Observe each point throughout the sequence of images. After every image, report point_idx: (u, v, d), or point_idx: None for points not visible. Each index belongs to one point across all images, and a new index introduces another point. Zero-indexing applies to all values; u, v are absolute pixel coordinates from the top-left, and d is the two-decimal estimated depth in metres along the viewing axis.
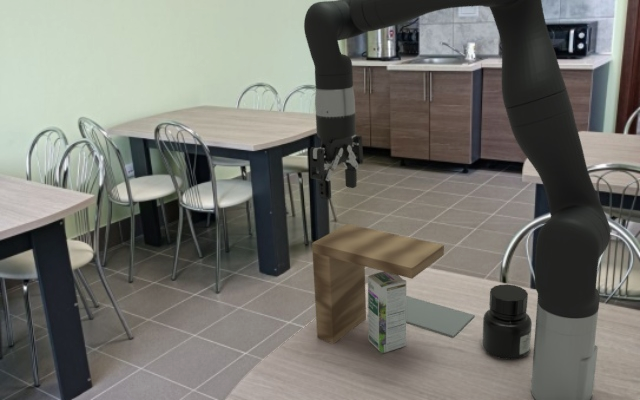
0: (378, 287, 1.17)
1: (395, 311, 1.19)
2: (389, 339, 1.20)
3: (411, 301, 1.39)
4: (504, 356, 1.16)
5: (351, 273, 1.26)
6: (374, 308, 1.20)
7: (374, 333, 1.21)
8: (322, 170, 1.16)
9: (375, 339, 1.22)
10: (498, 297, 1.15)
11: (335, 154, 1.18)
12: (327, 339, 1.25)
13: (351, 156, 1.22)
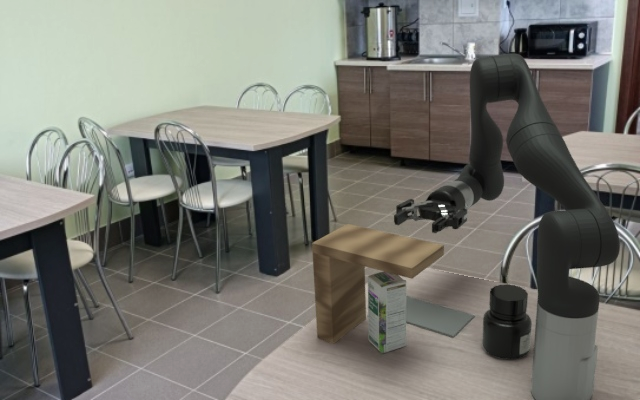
0: (378, 287, 1.17)
1: (395, 311, 1.19)
2: (389, 339, 1.20)
3: (411, 301, 1.39)
4: (504, 356, 1.16)
5: (351, 273, 1.26)
6: (374, 308, 1.20)
7: (374, 333, 1.21)
8: (402, 204, 1.33)
9: (375, 339, 1.22)
10: (498, 297, 1.15)
11: None
12: (327, 339, 1.25)
13: (441, 208, 1.28)
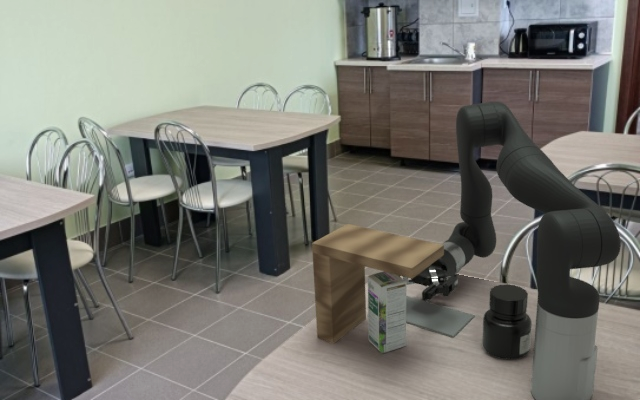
0: (378, 287, 1.17)
1: (395, 311, 1.19)
2: (389, 339, 1.20)
3: (411, 301, 1.39)
4: (504, 356, 1.16)
5: (351, 273, 1.26)
6: (374, 308, 1.20)
7: (374, 333, 1.21)
8: None
9: (375, 339, 1.22)
10: (498, 297, 1.15)
11: None
12: (327, 339, 1.25)
13: (432, 274, 1.30)
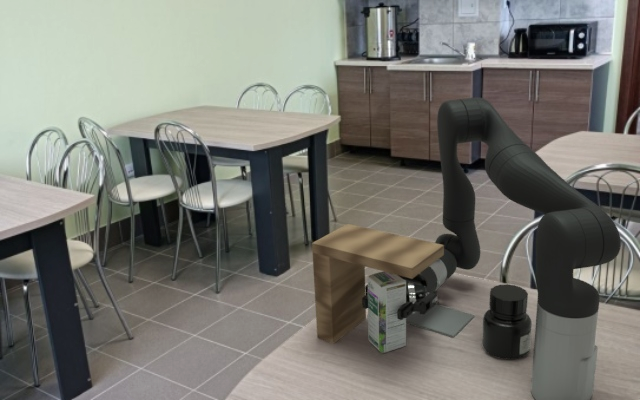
0: (378, 287, 1.17)
1: (395, 311, 1.19)
2: (389, 339, 1.20)
3: None
4: (504, 356, 1.16)
5: (351, 273, 1.26)
6: (374, 308, 1.20)
7: (374, 333, 1.21)
8: None
9: (375, 339, 1.22)
10: (498, 297, 1.15)
11: None
12: (327, 339, 1.25)
13: (410, 290, 1.23)
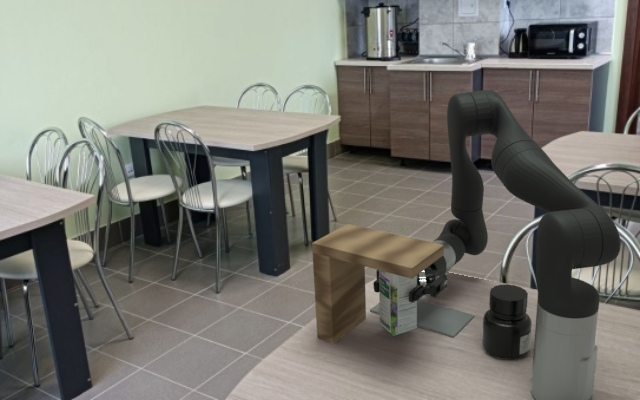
0: None
1: (406, 294, 1.22)
2: (400, 322, 1.23)
3: None
4: (504, 356, 1.16)
5: (351, 273, 1.26)
6: (385, 291, 1.23)
7: (386, 316, 1.24)
8: None
9: (386, 322, 1.25)
10: (498, 298, 1.15)
11: None
12: (327, 339, 1.25)
13: (420, 274, 1.26)
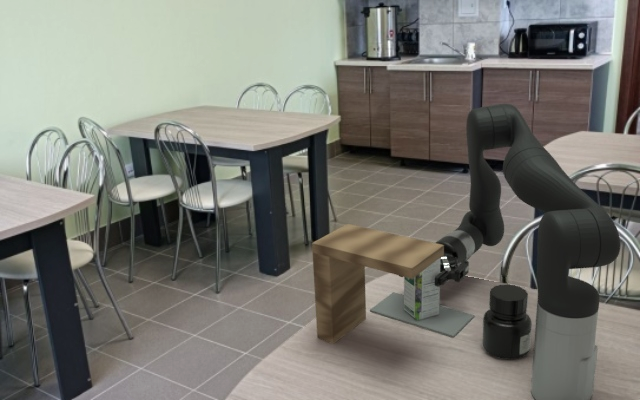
0: None
1: (430, 281, 1.29)
2: (424, 307, 1.30)
3: None
4: (504, 356, 1.16)
5: (351, 273, 1.26)
6: (410, 278, 1.30)
7: (410, 302, 1.32)
8: None
9: (411, 308, 1.32)
10: (498, 297, 1.15)
11: None
12: (327, 339, 1.25)
13: (443, 260, 1.34)
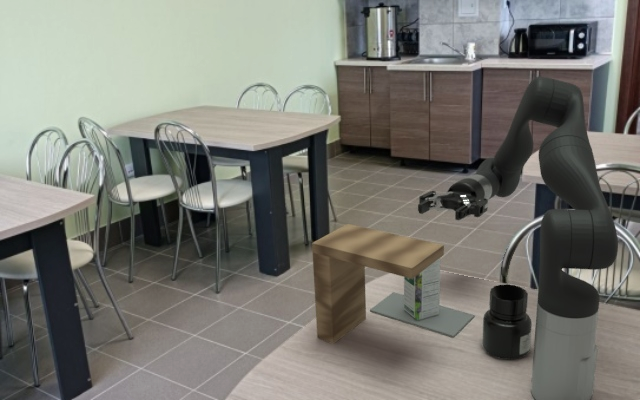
0: None
1: (430, 281, 1.29)
2: (424, 307, 1.30)
3: None
4: (504, 356, 1.16)
5: (351, 273, 1.26)
6: (410, 278, 1.30)
7: (410, 302, 1.32)
8: (425, 195, 1.40)
9: (411, 308, 1.32)
10: (498, 298, 1.15)
11: None
12: (327, 339, 1.25)
13: (463, 198, 1.35)
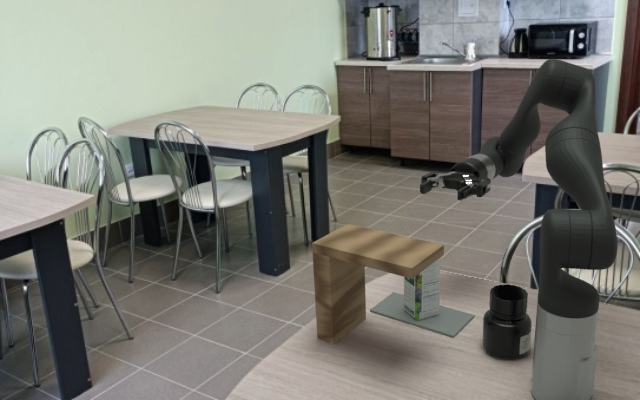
0: None
1: (430, 281, 1.29)
2: (424, 307, 1.30)
3: None
4: (504, 356, 1.16)
5: (351, 273, 1.26)
6: (410, 278, 1.30)
7: (410, 302, 1.32)
8: (427, 175, 1.38)
9: (411, 308, 1.32)
10: (498, 298, 1.15)
11: None
12: (327, 339, 1.25)
13: (465, 177, 1.33)
